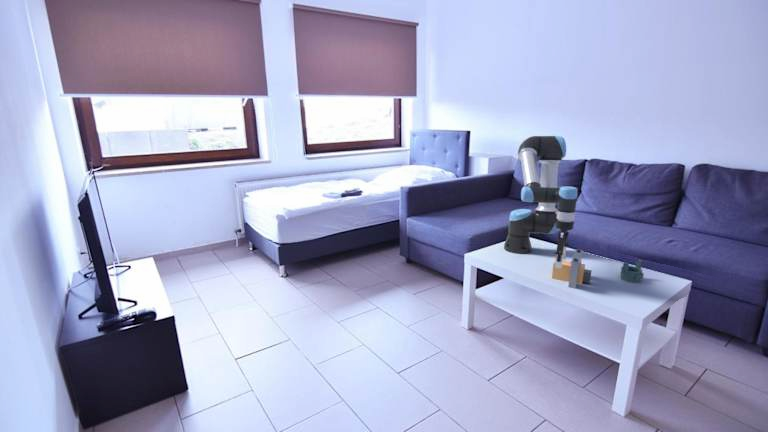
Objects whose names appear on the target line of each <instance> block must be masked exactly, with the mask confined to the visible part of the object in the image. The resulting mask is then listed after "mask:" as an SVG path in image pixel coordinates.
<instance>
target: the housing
mask: <svg viewBox="0 0 768 432" xmlns="http://www.w3.org/2000/svg"><path fill="white" fill-rule="evenodd" d="M583 252H584V249H580V248H579V249H577V248H575V251H574V254H573V255H572V256H573V257H572V260H571V262H572V263H571V270H570V278H569V282H568V288H572V289H577V285H578V283H577V279H578V272H579V265H580V264H582V259H583V254H584V253H583Z"/></svg>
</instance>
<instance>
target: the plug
mask: <svg viewBox="0 0 768 432" xmlns="http://www.w3.org/2000/svg"><path fill="white" fill-rule="evenodd" d="M555 262H556V258H555V259H554V261H553V266H552V272H551V274H552V275H551V279H554V280H558V281H559V280H560V281H563V282H567V283H569V278H570V270H571V263H572V261H567V260H566V261H565V260H562V267H561V268H555ZM592 272H593V271H592V270H591V269H586V264H584V263H581V264H580V265H579V272H578V279H577V285H578V284H579V285H583V283H588V284H590V283H591V278H592Z"/></svg>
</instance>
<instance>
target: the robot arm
mask: <svg viewBox="0 0 768 432" xmlns="http://www.w3.org/2000/svg"><path fill="white" fill-rule="evenodd" d="M517 151H518V152H517V157H518V159H519V161H520V163H521V170H522V176H523V184H524V186H523V187H522V188H521V191H520V199H521V201H522V202H524V203H536V204H537V203H538V206H537V207H536V208H535V211H532V209H528V208H527V209H526V208H519V209H515V210H512V211H511V212H510V213H509V214H510V215H509V219H508V220H509V223H508V234H507V237H506V239H505V242H504V244H503V250H505V251H507V252H509V253H512V254H513V253H514V254H529V253H531V252H532V248H533V247H532V243H531V239H530V235H531V234H546V235H550V234H551V235H552V234H556V233H557V232H558V231H559V232H558V234H557V235H558V239H557V246H556V252H554V255H555V259H556V262H555V268H561V267H562V261H565V260H566V255H567V247H569V244H568V238H569V234H570V232H569V231H571V230H574V224H575V222H574V221H575V218H576V207H577V200H578V188H577V187H574V186H569V185H568V186H566V185H565V186H557V185H558V172H559V164H560V163H561V162H562V161H563V160H562V159H564V158H565V157H566V155H567V143H566V140H565V138H564V137H563V136H559V135H534V136H529V137H527V138H525V139H524V140H523V141H522V143H521V144H520V145H519V147H518V150H517ZM537 158H538V161H537ZM537 162H539V163H540V164H541V165H540V166H541V167H540V168H541V169H540V173H539V167H538V163H537ZM556 204H557V208H556Z"/></svg>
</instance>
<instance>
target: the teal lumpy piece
mask: <svg viewBox="0 0 768 432" xmlns="http://www.w3.org/2000/svg"><path fill="white" fill-rule="evenodd" d="M642 264H643V260H642V259H637V260H636V265H635V266H632V265H630V263H629V262H624V263H623V265H622V266H621V268H620V274H619V278H620V279H621V280H622V281H625V282H628V283H634V284H636V283H640V282H641V281H642V280H643V279H644V273H643V270H642Z"/></svg>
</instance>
